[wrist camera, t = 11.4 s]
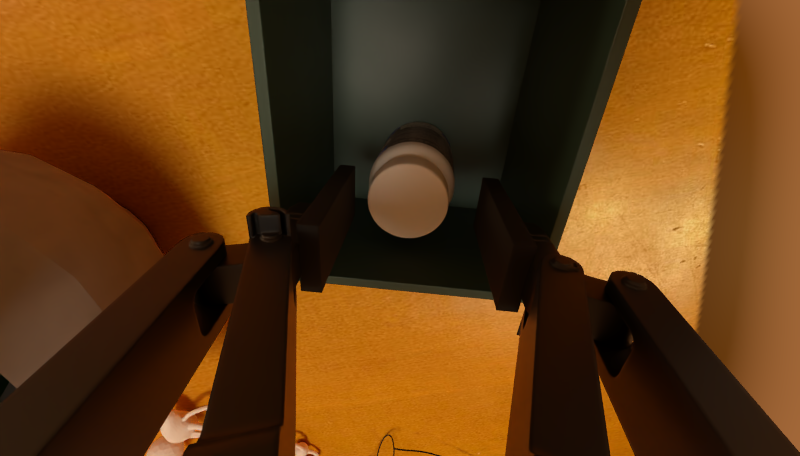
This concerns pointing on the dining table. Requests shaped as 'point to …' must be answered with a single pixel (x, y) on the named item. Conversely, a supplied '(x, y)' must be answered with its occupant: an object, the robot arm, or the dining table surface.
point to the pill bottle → (412, 181)
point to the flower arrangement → (58, 261)
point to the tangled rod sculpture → (191, 434)
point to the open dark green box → (434, 113)
